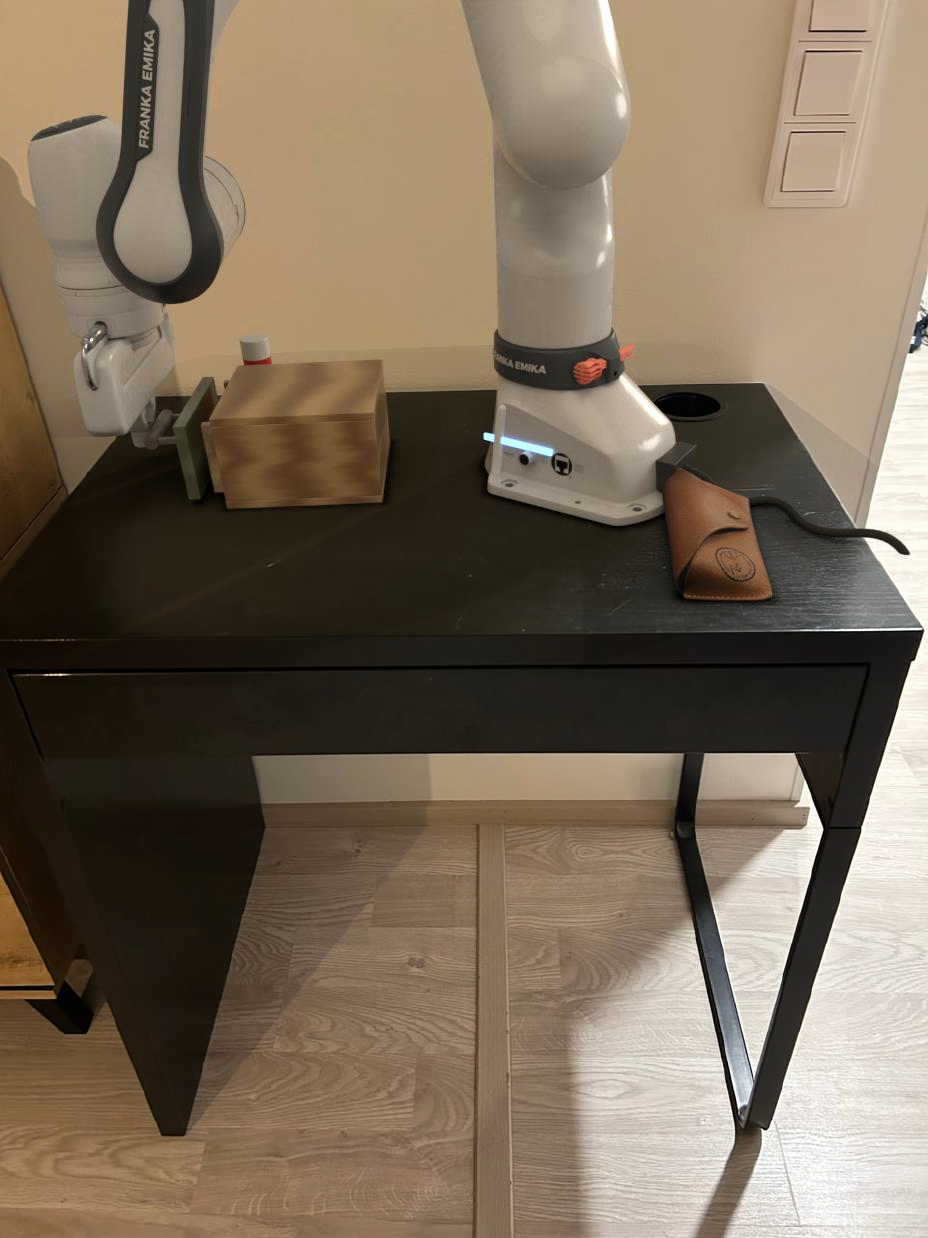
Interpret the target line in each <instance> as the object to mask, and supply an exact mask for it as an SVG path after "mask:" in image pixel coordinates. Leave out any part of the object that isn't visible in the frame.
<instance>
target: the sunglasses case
mask: <svg viewBox="0 0 928 1238" xmlns="http://www.w3.org/2000/svg"><path fill="white" fill-rule="evenodd" d="M662 498H663V505H664V511H665V512H664V518H665V519H664V520H665V523H666V531H667V536H668V546H669V551H670V559H671V567H672V569H671V570H672V576H673V582H674V585H675V589H676V590H677V591H678V592H679V593H680V595H681V596H682V597H683V598H684V599H686V600H691V601H694V600H695V601H696V600H697V601H705V602H717V603H719V602H721V603H724V602H726V603H735V602H737V603H738V602H757V601H758V602H759V601H760V602H761V601H765V600H769V599H772V597H773V587H772V585H771V580H770V578H769V574H768V571H767V568H766V565H765V562H764V558H763V556H762V552H761V549H760V545H759V541H758V539H757V534H756V530H755V526H754V523H753V518H752V515H751V514H752V513H751V506H749V500H748V498H749V497H746V496H744V495H742V494H739V493H736V492H733V491H731V490H728V489H725V488H723V487H720V486H718V485H717V484H716V485H713V484H710V483H708V482H705V481H703V480H701V479H700V478H698V477H696V476H694V475H693V474H691V473H690V472H688V471H686V470H683V469H682V468H677V469H676V470H675V472H674V474H673V475H672V476H671V477H669V478H668V479H667V480H666V481H665V482H664V484H663V487H662Z"/></svg>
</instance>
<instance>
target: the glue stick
mask: <svg viewBox="0 0 928 1238" xmlns="http://www.w3.org/2000/svg"><path fill="white" fill-rule="evenodd" d="M238 341H239V346H240V350H241V356H242V362H243V363H242V364H243V365H263V364H273V361H272V356H271V349H270V342H269V336H268V335H267V334H265V333H260V332H259V333H258V332H257V333H256V332H254V333H248V334H244V335H243V336H240V337H239V340H238Z"/></svg>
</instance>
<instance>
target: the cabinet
mask: <svg viewBox="0 0 928 1238" xmlns="http://www.w3.org/2000/svg"><path fill="white" fill-rule="evenodd" d="M384 369H385V368H384V361H383V359H381V358H379V359H361V360H360V359H358V360H336V361H335V360H334V361H333V360H332V361H312V362H311V361H310V362H290V363H289V362H288V363H287V362H286V363H272V364H263V365H244V364H241V365H237V366H236V368H235V370H234V372H233V373H232V376H231V377H230V379H229V380H230V381H229V383H228V385H227V387H226V389H225V388H224V390H223V392H222V394H221V396H220V398H219V399H218V403H217V405H216V407H215V409H214V411H213V413H212V415H211V417H210V418H209V421H210V426H211V431H212V436H213V441H214V446H215V451H216V456H217V460H218V465H219V470H220V475H221V480H222V485H223V490H224V492H223V494H224V499H225V505H226V509H227V510H234V509H236V510H237V509H254V508H255V509H258V508H259V509H260V508H283V507H305V506H307V507H309V506H310V507H311V506H332V505H357V504H358V505H359V504H379V503H380V504H381V503H383V501H384V499H383V498H384V493H385V492H384V491H385V485H386V484H385V483H386V477H387V476H386V475H387V468H388V463H389V461H388V460H389V454H390V447H391V446H390V445H391V437H390V435H391V434H390V427H389V425H390V424H389V415H388V414H389V413H388V405H387V404H388V403H387V394H386V393H387V391H386V381H385V371H384Z"/></svg>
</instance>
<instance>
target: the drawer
mask: <svg viewBox="0 0 928 1238" xmlns="http://www.w3.org/2000/svg"><path fill="white" fill-rule="evenodd" d="M229 381H230V379H225V380H224V381H223V387H224V390H225V389H226V387H227V385H228V383H229ZM218 402H219V397H218V391H217V387H216V383H215V377H214V376H202V378H201V379H200V381H199V382H198V384H197V386H196V387H195V389H194V391H193V392H192V394H191V395H190V397H189V399H188V401H187V402H186V404H185V406H184V407H183V409H182V411H181V412H180V413H174V412H173V411H172V410H170V409H163V410H161V412H160V413H159V414H158V416H157V417H156V418H155V423H154V424H153V426H152V427H151V429H150V430H149V432H148V433H147V435H146V436H145V438H144V440H143V443H144V446H145V447H144V448H146V449H147V450H149V451H150V450H151V451H153V450H156V449H158V447H159V446H161V445H176V449H177V453H178V457H179V462H180V466H181V470H182V471H181V472H182V475H183V479H184V485H185V488H186V493H187V496H188V500H191V501H192V500H201V499H202V497H203V496H204V493H205V491H206V489H207V487H208V485H209V482H210V480H211V482H212V485H213V487H212V488H213V492H214V493H215V494H217V493H224V490H223V485H222V480H221V475H220V470H219V465H218V460H217V456H216V451H215V446H214V441H213V436H212V431H211V426H210V421H209V418H210V417H211V415H212V413H213V411H214V409H215V407H216V405H217V403H218ZM173 423H174V424H173ZM172 424H173V425H172ZM171 426H172V431H173V436H166V434H167V432H168V431H169V430H170V428H171Z"/></svg>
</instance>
